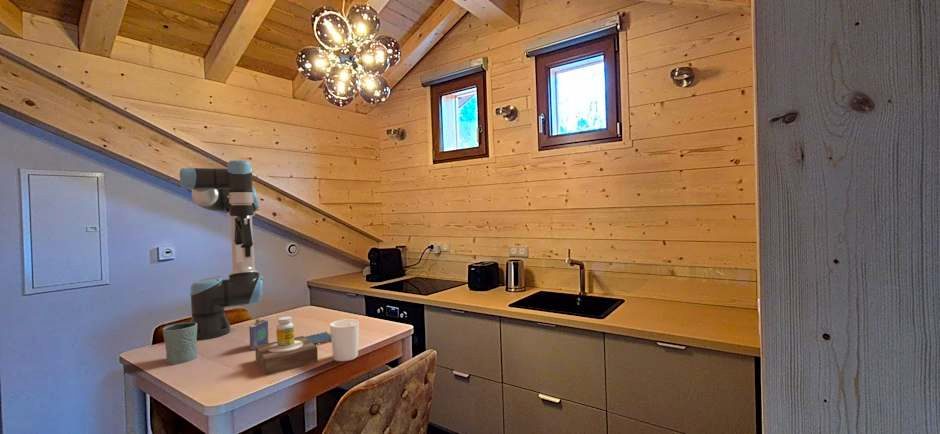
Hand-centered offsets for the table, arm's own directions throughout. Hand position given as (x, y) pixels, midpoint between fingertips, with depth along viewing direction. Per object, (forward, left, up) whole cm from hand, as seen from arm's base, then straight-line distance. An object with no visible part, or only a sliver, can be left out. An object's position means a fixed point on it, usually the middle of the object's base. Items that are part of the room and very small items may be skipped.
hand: (244, 264), depth 147 cm
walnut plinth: (+16, +9, -33) cm, 37 cm away
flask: (-7, +5, -33) cm, 34 cm away
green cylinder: (-11, -19, -33) cm, 40 cm away
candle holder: (+26, +26, -33) cm, 49 cm away
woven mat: (+2, +24, -33) cm, 41 cm away
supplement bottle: (+16, +9, -28) cm, 33 cm away
